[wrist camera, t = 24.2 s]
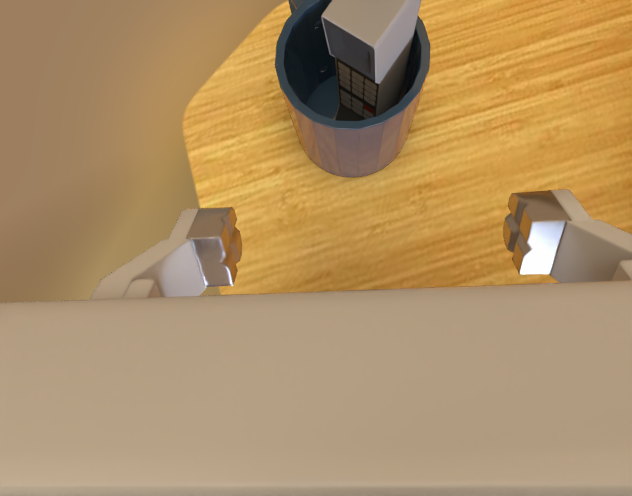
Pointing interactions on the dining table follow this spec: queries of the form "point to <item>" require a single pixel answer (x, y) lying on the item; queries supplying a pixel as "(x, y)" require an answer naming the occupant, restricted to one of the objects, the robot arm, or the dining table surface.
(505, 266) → the dining table surface
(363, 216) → the dining table surface
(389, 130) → the dark grey mug
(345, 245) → the dining table surface
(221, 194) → the dining table surface
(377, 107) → the vintage mobile phone
